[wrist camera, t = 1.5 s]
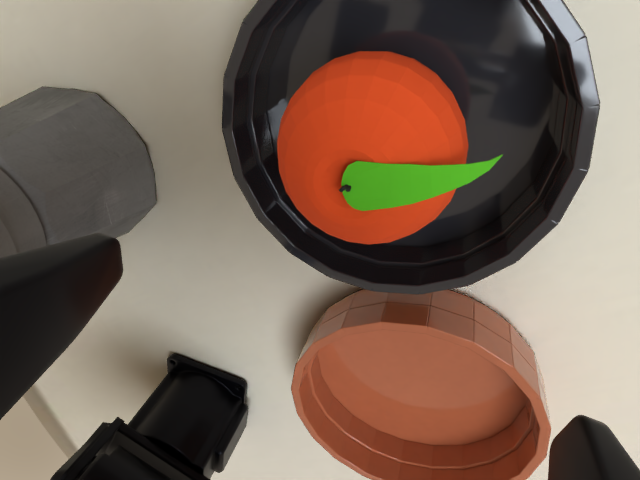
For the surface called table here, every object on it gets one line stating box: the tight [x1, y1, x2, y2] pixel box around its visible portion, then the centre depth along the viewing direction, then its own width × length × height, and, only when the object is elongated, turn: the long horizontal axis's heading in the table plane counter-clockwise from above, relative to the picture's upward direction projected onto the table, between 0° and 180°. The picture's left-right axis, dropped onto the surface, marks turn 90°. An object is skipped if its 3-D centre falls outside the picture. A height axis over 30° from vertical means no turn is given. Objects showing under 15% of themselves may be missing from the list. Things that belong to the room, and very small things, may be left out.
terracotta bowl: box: [291, 289, 551, 480], centre depth 25 cm, size 14×14×4 cm
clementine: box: [277, 51, 503, 244], centre depth 16 cm, size 8×7×7 cm
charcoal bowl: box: [222, 0, 600, 295], centre depth 18 cm, size 14×14×4 cm
